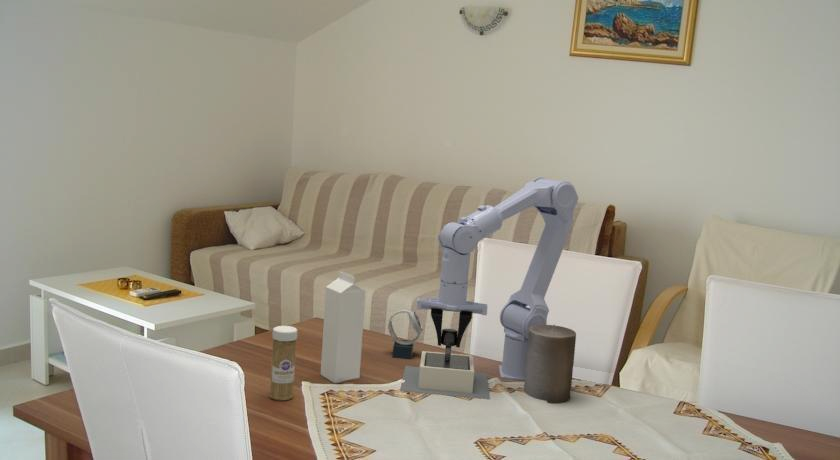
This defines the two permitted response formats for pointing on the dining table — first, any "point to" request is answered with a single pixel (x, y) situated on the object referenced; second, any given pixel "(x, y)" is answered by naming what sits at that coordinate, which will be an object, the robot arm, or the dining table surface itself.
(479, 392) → the slate mat
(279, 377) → the sprinkles bottle
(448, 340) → the plunger
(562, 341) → the pillar candle
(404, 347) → the watch
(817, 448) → the dining table surface
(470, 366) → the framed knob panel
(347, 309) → the milk
